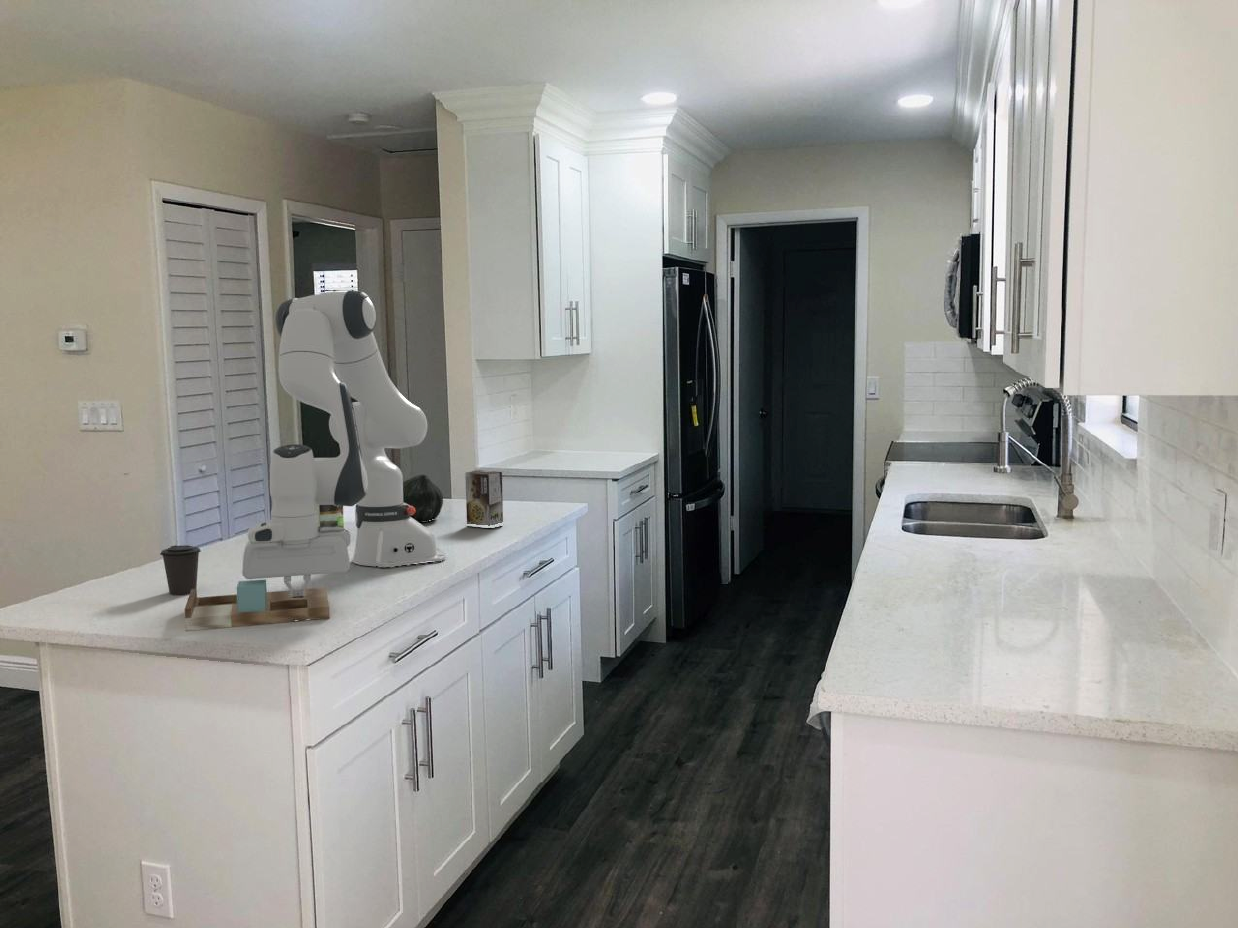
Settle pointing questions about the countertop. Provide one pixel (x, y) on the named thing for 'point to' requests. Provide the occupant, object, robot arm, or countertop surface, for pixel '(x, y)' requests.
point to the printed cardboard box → (484, 497)
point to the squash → (423, 497)
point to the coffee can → (330, 516)
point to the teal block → (251, 596)
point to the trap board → (278, 609)
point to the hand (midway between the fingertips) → (298, 597)
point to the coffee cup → (181, 568)
